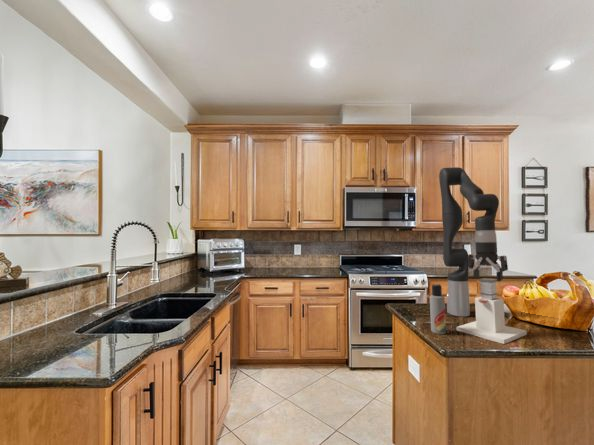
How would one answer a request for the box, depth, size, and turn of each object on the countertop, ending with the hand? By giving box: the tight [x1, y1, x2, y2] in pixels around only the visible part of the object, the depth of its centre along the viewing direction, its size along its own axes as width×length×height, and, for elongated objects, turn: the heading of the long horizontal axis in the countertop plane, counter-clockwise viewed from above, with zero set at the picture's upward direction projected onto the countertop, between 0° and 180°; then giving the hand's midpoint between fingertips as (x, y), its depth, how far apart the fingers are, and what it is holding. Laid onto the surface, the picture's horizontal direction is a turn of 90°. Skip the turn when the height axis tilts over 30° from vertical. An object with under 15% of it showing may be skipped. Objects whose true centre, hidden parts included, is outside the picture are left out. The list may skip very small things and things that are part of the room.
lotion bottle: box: [429, 283, 447, 335], centre depth 121 cm, size 6×6×20 cm
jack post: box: [478, 277, 498, 300], centre depth 119 cm, size 5×5×20 cm
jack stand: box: [456, 296, 528, 345], centre depth 119 cm, size 18×18×14 cm
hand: (487, 279), depth 119 cm, fingers open, 8 cm apart
